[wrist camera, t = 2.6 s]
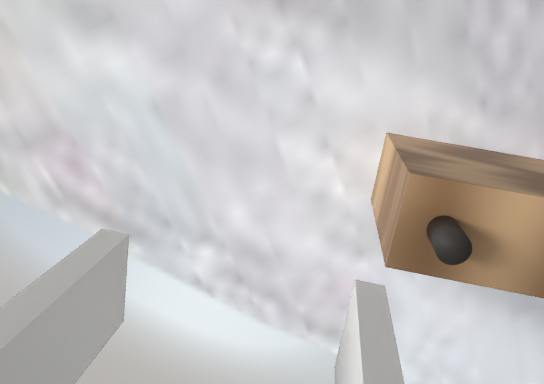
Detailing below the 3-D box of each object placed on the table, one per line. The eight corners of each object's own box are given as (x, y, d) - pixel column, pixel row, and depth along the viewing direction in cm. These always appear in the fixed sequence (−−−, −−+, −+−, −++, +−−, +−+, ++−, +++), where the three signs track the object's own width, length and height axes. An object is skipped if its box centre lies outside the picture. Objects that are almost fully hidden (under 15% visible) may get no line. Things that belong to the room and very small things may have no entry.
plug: (370, 199, 31) (390, 288, 19) (386, 132, 29) (417, 186, 18) (574, 237, 30) (720, 355, 18) (600, 170, 28) (777, 252, 17)
